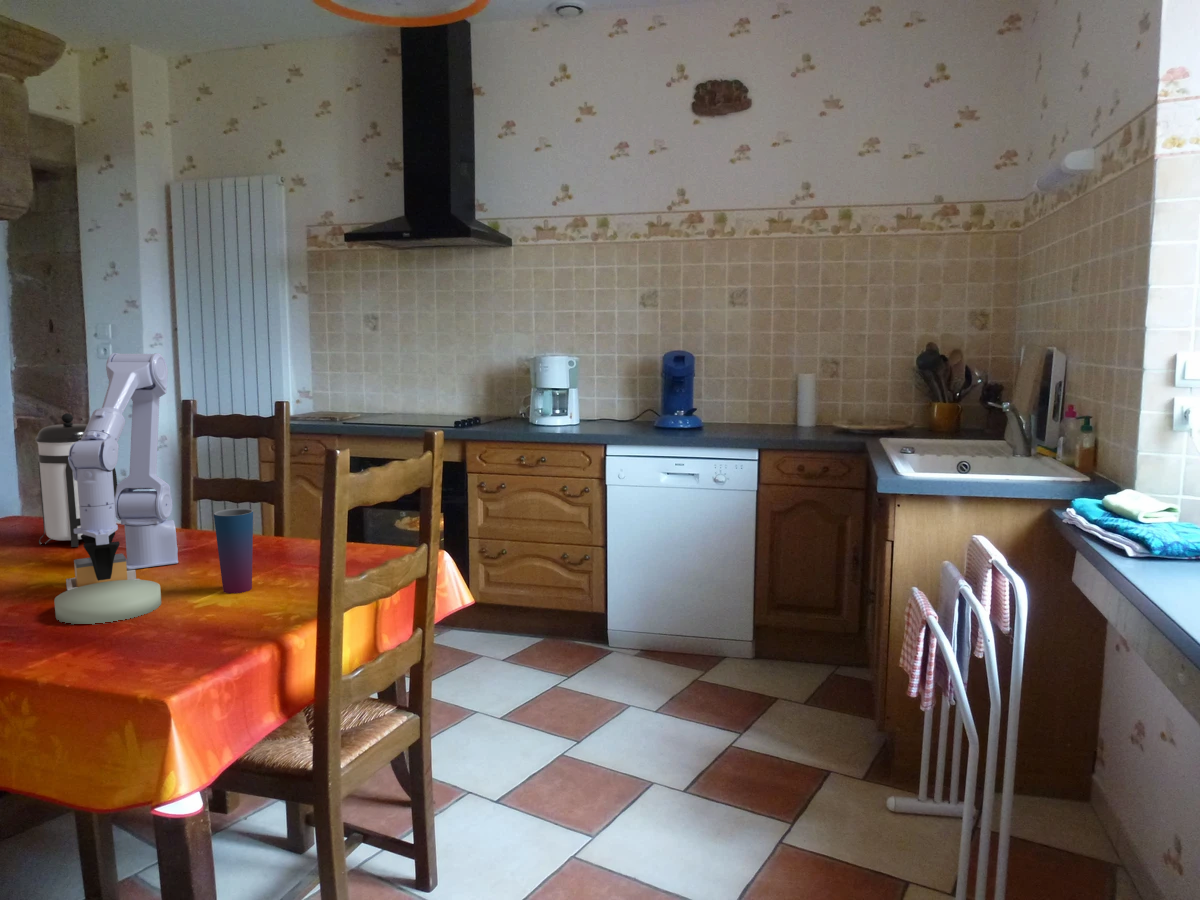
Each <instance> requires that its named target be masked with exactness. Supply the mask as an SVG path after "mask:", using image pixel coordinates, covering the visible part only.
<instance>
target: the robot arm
mask: <svg viewBox="0 0 1200 900" xmlns="http://www.w3.org/2000/svg"><path fill="white" fill-rule="evenodd" d="M105 367H106V369H105V371H106V375H107V380H108V381H109V382H108V385H107V389H106V393H105V397H104V400H103V403H102V406H101V408H97V409H95V410H93V412H92V413H91V416H90V419H89V420H88V423H87V427H86V429H85V432H84V434H83V436H82V438H81V440H79V441H78V442H76V443H74V444H72V446H71V447H70V450H69V457H68V461H69V465H70V467H71V469H72V471H73V478H74V480H76V481H77V485H78V498H79V510H80V522H81V528H75V529H74V534H79V533H81V534H83V535H81V538H82V539H81V540H82V541H83V542H84V543H83V548H84V550H85V552H87V554H88V556H89V558H91V560H92V563H93V567H94V571H95V574H96V577H97V580H98V581H99V580H106V579H111V575H112V569H113V561H114V557H115V554H117V553H116V552H117V551H118V549H119V546H120V544H121V543H120V541H113V540H114V538H115V535H116V531H118V529H119V525H118V524H117V521H120V525H124V535H125V536H124V537H125V550H126V566H127V571H130V570H137V569H143V568H151V567H152V568H153V567H159V566H160V567H161V566H166V565H174V564H178V563H179V558H178V553H179V552H178V551H179V550H178V549H179V548H178V545H177V544H178V542H177V532H176V531H177V530H176V524H175V520H174V519H168V518H169V517H170V515H171V514H172V511H173V499H172V494H171V493H172V492H171V486H170V484H169V483H168V482H166V481H165V480H164V479H162V478H161V477H159V476H158V475H157V468H158V466H157V464H158V440H159V418H160V417H159V415H160V397H163V396H164V395H165V394H167V388H168V373H169V372H168V371H169V369H168V365H167V362H166V359H165V357H164V356H163V355H162V354H161V353H159V352H155V353H118V352H112V353H111V354H110V355H109V357H108V358H107V360H106V364H105ZM130 400H131V401H132V408H131V409H132V410H131V412H132V413H131V431H130V433H131V435H130V455H129V457H130V458H129V473H128V474H129V475H128V476H126V477H125V478H124V479H123V480H121V481H120V482H119V483H117V488H116V494H115V497H114V486H113V473H112V470H113V469H114V468H115V469H116V466H117V464H118V461H119V460H118V459H119V450H120V448H119V447H120V445H119V443H118V442H119V439H120V437H121V435H122V432H123V430H124V427H125V424H126V419H125V417H124V415H123V413H124V411H125V410H126V407H127V406H128V404H129V402H130Z"/></svg>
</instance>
